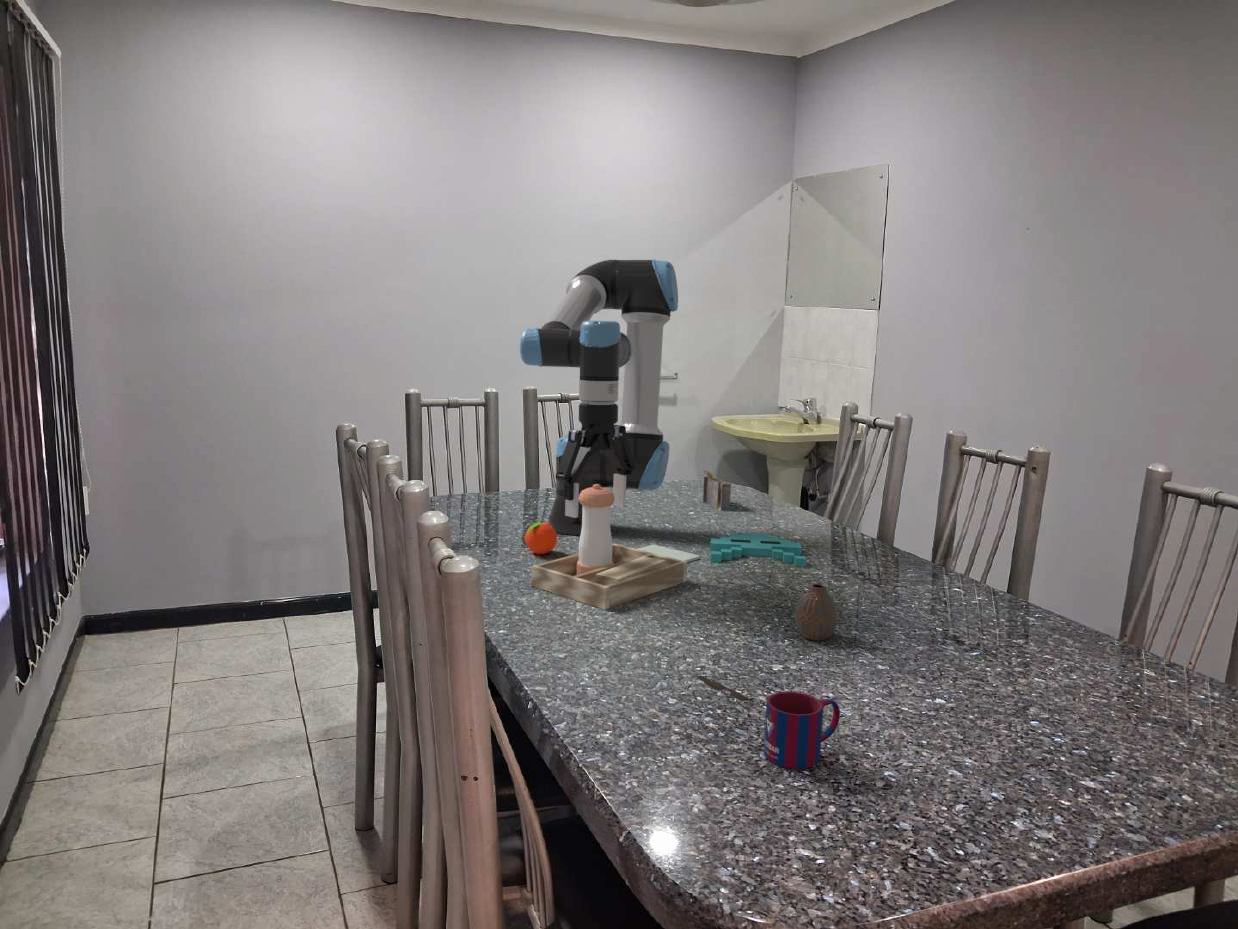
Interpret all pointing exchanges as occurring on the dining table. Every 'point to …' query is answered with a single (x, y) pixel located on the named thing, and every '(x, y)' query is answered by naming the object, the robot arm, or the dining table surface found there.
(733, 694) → the thin brown sliver
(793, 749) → the mug
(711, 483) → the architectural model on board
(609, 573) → the upper offcut
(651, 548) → the mat
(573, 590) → the rack
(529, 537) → the clementine
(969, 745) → the dining table surface
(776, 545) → the alien figure
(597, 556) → the salt shaker
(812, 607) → the vase
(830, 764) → the dining table surface
